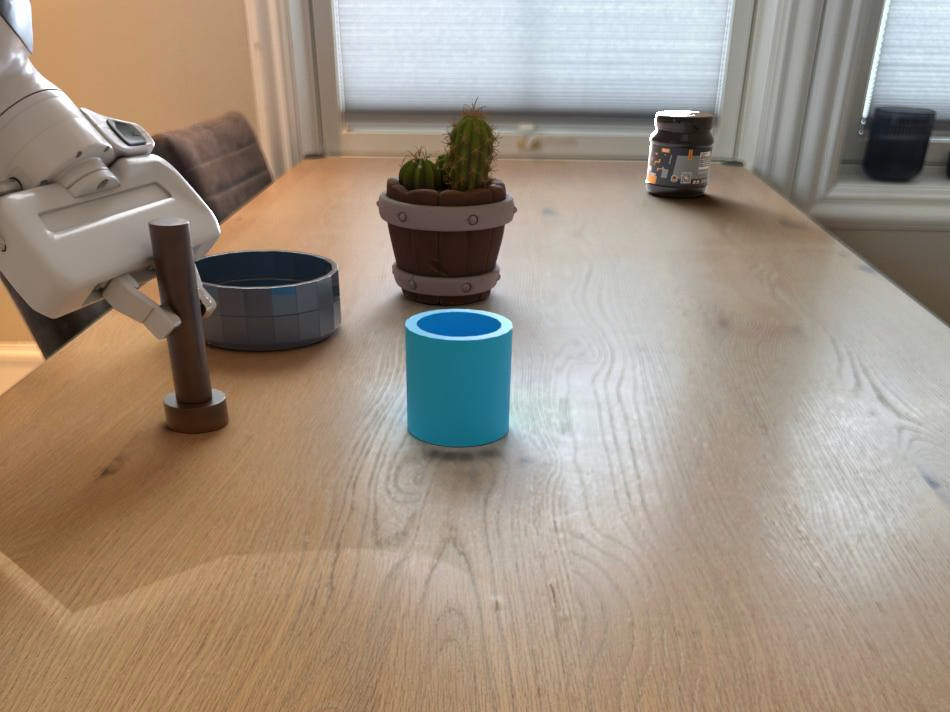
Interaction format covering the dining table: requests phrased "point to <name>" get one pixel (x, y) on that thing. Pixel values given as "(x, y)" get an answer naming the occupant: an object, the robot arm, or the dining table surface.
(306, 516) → the dining table surface
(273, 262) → the bowl
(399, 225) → the flowerpot
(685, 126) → the supplement container
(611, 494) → the dining table surface
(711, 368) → the dining table surface
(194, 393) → the stick
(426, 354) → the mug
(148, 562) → the dining table surface
